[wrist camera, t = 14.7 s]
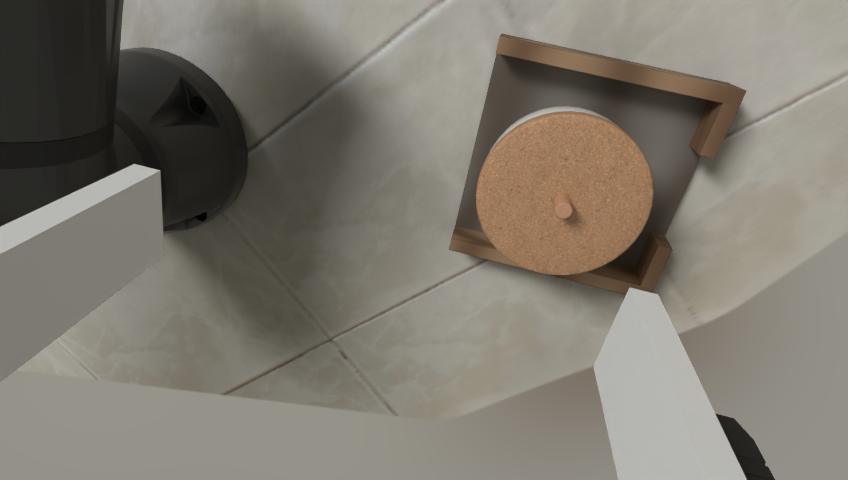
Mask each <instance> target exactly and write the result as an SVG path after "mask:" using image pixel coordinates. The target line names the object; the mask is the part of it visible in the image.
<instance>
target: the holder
mask: <svg viewBox="0 0 848 480" xmlns="http://www.w3.org/2000/svg"><path fill="white" fill-rule="evenodd" d="M496 53H497V54H496V59H495V63H494V67H493V71H492V75H491V79H490V84H489V88H488V92H487V96H486V100H485V104H484V109H483V113H482V117H481V121H480V125H479V130H478V134H477V138H476V142H475V146H474V150H473V155H472V159H471V163H470V167H469V171H468V175H467V180H466V184H465V188H464V192H463V196H462V200H461V205H460V209H459V213H458V217H457V221H456V225H455V229H454V232H453V236H452V239H451V243H450V247H449V250H452V251H456V252H460V253H464V254H468V255H472V256H476V257H480V258H484V259H488V260H492V261H496V262H500V263H504V264H508V265H512V266H516V267H520V268H523V267H521V266H519V265H517V264H515V263H513V262H512V261H510V260H509V259H507V258H506V257H505V256H504V255H502V254H501V253H500V252H499V251H498V250H497V249H496V248H495V247H494V246H493V244H492V243H491V242H490V241H489V239H488V238H487V236H486V234H485V233H484V231H483V229H482V226H481V224H480V221H479V218H478V213H477V208H476V190H477V182H478V178H479V175H480V172H481V169H482V166H483V164H484V162H485V160H486V158H487V156H488V154H489V152H490V150H491V148H492V147H493V145H494V144H495V142H496V141H497V140H498V138H499V137H500V136H501V135H502V134H503V133H504V132H505V131H506V130H507V129H508V128H509V127H510V126H511V125H512V124H514V123H515V122H516V121H518V120H519V119H521V118H522V117H524V116H526V115H528V114H530V113H532V112H535V111H538V110H541V109H545V108H550V107H557V106H571V107H580V108H583V109H587V110H591V111H593V112H595V113H598V114H600V115H602V116H604V117H606V118H608V119H609V120H611V121H612V122H613V123H615V124H616V125H617V126H618V127H620V128H621V129H622V130H624V131H625V132H626V133H627V134H628V135H629V136H630V137H631V138H632V139H633V140H634V141H635V142H636V144H637V145H638V146H639V148H640V149H641V151H642V152H643V154H644V155H645V158H646V160H647V162H648V164H649V166H650V170H651V174H652V178H653V190H654V194H653V203H652V208H651V211H650V215H649V218H648V220H647V222H646V224H645V226H644V228H643V230H642V232H641V233H640V235H639V236H638V237H637V239H636V240H635V242H634V243H633V244H632V245H631V246H630V247H629V248H628V249H627V250H626V251H625V252H623V253H622V254H621V255H619V256H618V257H617V258H616V259H614V260H612V261H611V262H609V263H607V264H605V265H603V266H601V267H599V268H596V269H594V270H591V271H587V272H583V273H579V274H572V275H552V276H556V277H559V278H563V279H567V280H571V281H575V282H579V283H583V284H587V285H591V286H595V287H599V288H603V289H607V290H611V291H615V292H619V293H623V294H627V292H628V290H629V287H630V288H634V289H638V290H642V291H646V292H650V293H652V292H653V290H654V287H655V285H656V283H657V281H658V279H659V277H660V275H661V272H662V270H663V268H664V266H665V264H666V262H667V260H668V257H669V255H670V253H671V251H672V248H671V246H670V244H669V243H668V241H667V239H666V238H665V236H664V234H665V232H666V230H667V227H668V225H669V223H670V221H671V218H672V216H673V214H674V212H675V210H676V207H677V205H678V203H679V201H680V199H681V196H682V194H683V192H684V190H685V188H686V185H687V183H688V181H689V179H690V177H691V174H692V172H693V170H694V168H695V166H696V163H697V161H698V159H699V157H700V155H701V156H705V157H710V158H714V159H715V157H716V155H717V153H718V151H719V149H720V146H721V144H722V142H723V140H724V138H725V136H726V134H727V131H728V129H729V127H730V125H731V123H732V121H733V119H734V116H735V114H736V112H737V110H738V108H739V106H740V104H741V102H742V99H743V97H744V95H745V93H746V90H743V89H741V88H739V87H736V86H734V85H732V84H730V83H726V82H721V81H717V80H712V79H707V78H703V77H698V76H694V75H689V74H684V73H680V72H675V71H671V70H666V69H661V68H657V67H652V66H648V65H643V64H639V63H634V62H629V61H625V60H620V59H616V58H611V57H606V56H602V55H597V54H593V53H588V52H583V51H579V50H574V49H570V48H565V47H560V46H556V45H551V44H547V43H542V42H538V41H533V40H528V39H524V38H519V37H515V36H510V35H505V34H501V36H500V38H499V42H498V47H497V51H496ZM524 269H525V268H524ZM548 275H549V274H548Z"/></svg>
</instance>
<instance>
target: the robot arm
mask: <svg viewBox="0 0 848 480" xmlns="http://www.w3.org/2000/svg"><path fill="white" fill-rule="evenodd" d="M123 1H124V0H0V382H1V381H3V380H4V379H5V378H6V377H8V376H9V375H10V374H12V373H13V372H14V371H15V370H17V369H18V368H19V367H21V366H22V365H23V364H25V363H26V362H27V361H28V360H30V359H31V358H32V357H34V356H35V355H36V354H37V353H39V352H40V351H41V350H43V349H44V348H45V347H47V346H48V345H49V344H50V343H52V342H53V341H54V340H56V339H57V338H58V337H59V336H61V335H62V334H63V333H65V332H66V331H67V330H69V329H70V328H71V327H72V326H74V325H75V324H76V323H78V322H79V321H80V320H81V319H83V318H84V317H85V316H87V315H88V314H89V313H91V312H92V311H93V310H94V309H96V308H97V307H98V306H100V305H101V304H102V303H103V302H105V301H106V300H107V299H109V298H110V297H111V296H113V295H114V294H115V293H116V292H118V291H119V290H120V289H122V288H123V287H124V286H125V285H127V284H128V283H129V282H131V281H132V280H133V279H134V278H136V277H137V276H138V275H140V274H141V273H142V272H144V271H145V270H146V269H147V268H149V267H150V266H151V265H153V264H154V263H155V262H156V261H158V260H159V259H160V258H162V257H163V256H164V240H163V234H164V233H170V232H176V231H182V230H187V229H191V228H195V227H198V226H200V225H202V224H204V223H206V222H208V221H210V220H211V219H213V218H214V217H215V216H217V215H218V214H220V213H221V212H222V211H224V210H225V209H226V208H227V207H229V206H230V205H231V204H232V202H233V201H234V200H235V199H236V197H237V196H238V194H239V192H240V190H241V188H242V186H243V183H244V180H245V176H246V170H247V147H246V141H245V136H244V133H243V129H242V126H241V124H240V121H239V119H238V116H237V114H236V112H235V110H234V108H233V107H232V105H231V103H230V102H229V100H228V99H227V97H226V96H225V94H224V93H223V92H222V90H221V89H220V88H219V87H218V86H217V85H216V83H215V82H214V81H213V80H212V79H211V78H210V77H209V76H207V75H206V74H205V73H204V72H203V71H202V70H200V69H199V68H198V67H196V66H195V65H193V64H192V63H190V62H189V61H187V60H185V59H183V58H181V57H179V56H177V55H175V54H172V53H169V52H167V51H163V50H159V49H154V48H132V49H125V50H120V41H121V26H122V12H123ZM594 371H595V375H596V380H597V384H598V389H599V393H600V398H601V403H602V407H603V412H604V417H605V421H606V426H607V430H608V435H609V440H610V444H611V448H612V453H613V458H614V462H615V467H616V472H617V476H618V480H775V479H774V477H773V475H772V473H771V471H770V469H769V468H768V467H767V466H765V463H766V462H765V460H764V459H763V456H762V455H761V453H760V451H759V449H758V447H757V445H756V444H755V442H754V440H753V439H752V438H751V437H750V436H749V434H748V433H747V432H746V431H745V430H744V429H743V428H742V427H741V426H740V425H739V424H738V422H737V421H736V420H735V419H733V418H730V417H726V416H722V415H718V414H715V412H714V410H713V408H712V406H711V404H710V402H709V400H708V397H707V395H706V393H705V391H704V389H703V387H702V385H701V383H700V381H699V379H698V377H697V375H696V372H695V370H694V368H693V366H692V364H691V362H690V360H689V358H688V356H687V354H686V352H685V349H684V347H683V345H682V343H681V341H680V339H679V337H678V335H677V333H676V331H675V329H674V326H673V324H672V322H671V320H670V318H669V316H668V314H667V312H666V310H665V308H664V306H663V304H662V301H661V299H660V297H659V295H658V294H654V293H650V292H646V291H642V290H638V289H634V288H630V287H629V290H628V292H627V294H626V296H625V298H624V301H623V303H622V305H621V307H620V309H619V311H618V314H617V316H616V318H615V320H614V322H613V325H612V327H611V329H610V331H609V333H608V335H607V338H606V340H605V342H604V344H603V346H602V348H601V351H600V353H599V355H598V357H597V359H596V362H595V364H594Z"/></svg>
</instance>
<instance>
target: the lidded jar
mask: <svg viewBox="0 0 848 480" xmlns="http://www.w3.org/2000/svg"><path fill="white" fill-rule="evenodd" d="M653 194H654V190H653V178H652V174H651V170H650V166H649V164H648V162H647V160H646V158H645V155H644V154H643V152H642V151H641V149H640V148H639V146H638V145H637V144H636V142H635V141H634V140H633V139H632V138H631V137H630V136H629V135H628V134H627V133H626V132H625V131H624V130H622V129H621V128H620V127H618V126H617V125H616V124H615V123H613V122H612V121H611V120H609V119H608V118H606V117H604V116H602V115H600V114H598V113H595V112H593V111H591V110H587V109H583V108H580V107H571V106H557V107H550V108H545V109H541V110H538V111H535V112H532V113H530V114H528V115H526V116H524V117H522V118H521V119H519V120H518V121H516V122H515V123H514V124H512V125H511V126H510V127H509V128H508V129H507V130H506V131H505V132H504V133H503V134H502V135H501V136H500V137H499V138H498V140H497V141H496V142H495V144H494V145H493V147H492V148H491V150H490V152H489V154H488V156H487V158H486V160H485V162H484V164H483V166H482V169H481V172H480V175H479V178H478V182H477V190H476V208H477V213H478V218H479V221H480V224H481V226H482V229H483V231H484V233H485V234H486V236H487V238H488V239H489V241H490V242H491V243H492V244H493V246H494V247H495V248H496V249H497V250H498V251H499V252H500V253H501V254H502V255H504V256H505V257H506V258H507V259H509V260H510V261H512V262H513V263H515V264H517V265H519V266H521V267H523V268H525V269H528V270H531V271H534V272H538V273H543V274H549V275H572V274H579V273H583V272H587V271H591V270H594V269H596V268H599V267H601V266H603V265H605V264H607V263H609V262H611V261H612V260H614V259H616V258H617V257H618V256H619V255H621V254H622V253H623V252H625V251H626V250H627V249H628V248H629V247H630V246H631V245H632V244H633V243H634V242H635V240H636V239H637V237H638V236H639V235H640V233H641V232H642V230H643V228H644V226H645V224H646V222H647V220H648V218H649V215H650V211H651V208H652V203H653Z"/></svg>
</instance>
